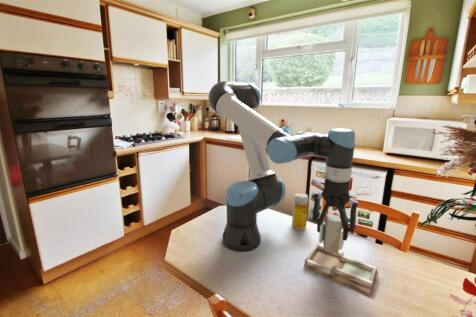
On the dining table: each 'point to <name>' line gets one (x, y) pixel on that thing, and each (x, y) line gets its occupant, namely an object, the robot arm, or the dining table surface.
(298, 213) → the glass of beer
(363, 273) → the shallow beige tray
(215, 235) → the dining table surface
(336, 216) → the box
